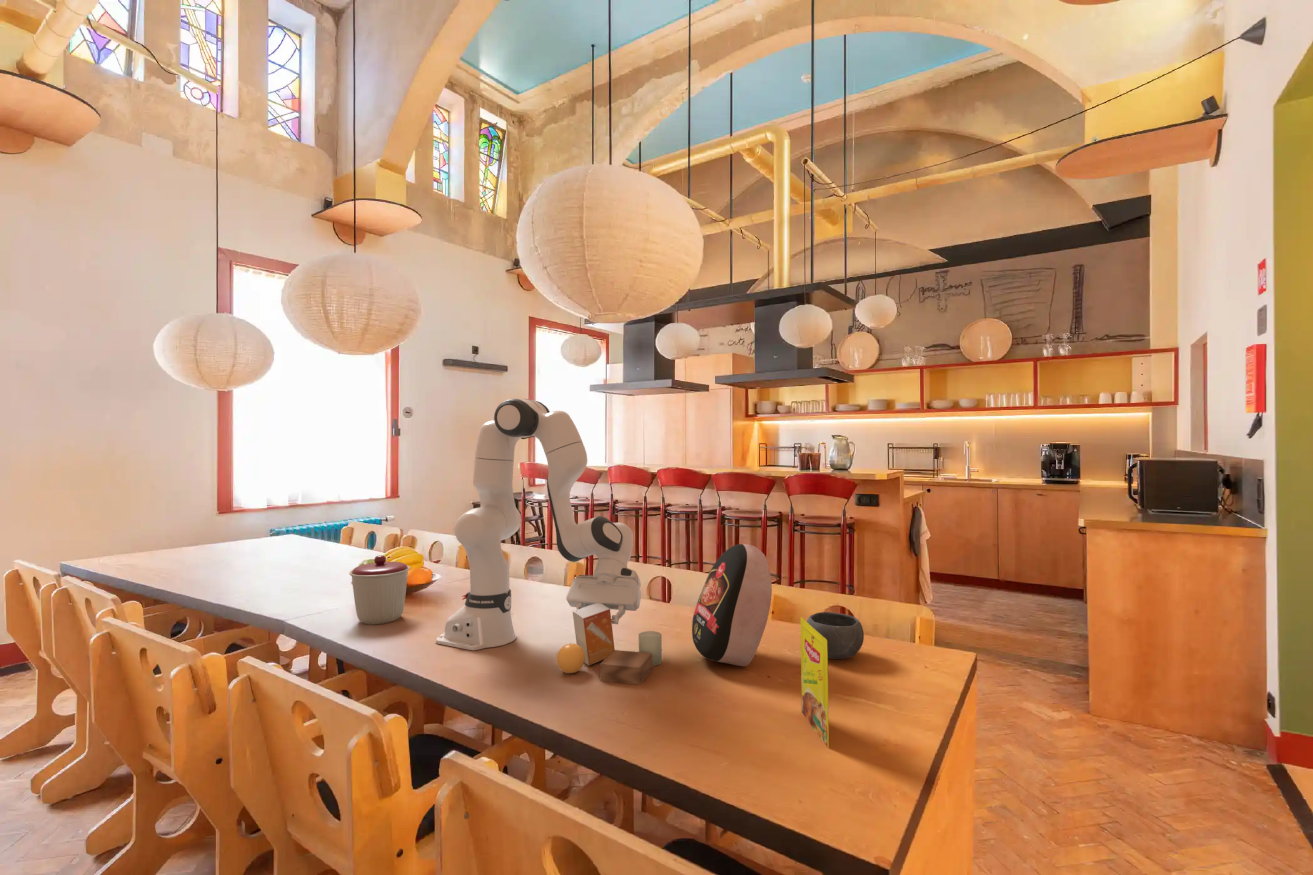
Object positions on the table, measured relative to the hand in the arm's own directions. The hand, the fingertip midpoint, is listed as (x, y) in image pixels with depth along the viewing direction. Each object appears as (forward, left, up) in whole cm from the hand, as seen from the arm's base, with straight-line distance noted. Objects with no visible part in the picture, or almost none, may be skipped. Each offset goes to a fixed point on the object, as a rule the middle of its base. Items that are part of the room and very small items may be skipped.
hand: (596, 621), depth 159 cm
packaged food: (+34, +10, -10) cm, 37 cm away
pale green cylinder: (+14, +3, -10) cm, 17 cm away
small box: (0, 0, -9) cm, 9 cm away
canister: (-82, +17, -10) cm, 84 cm away
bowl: (+60, +19, -10) cm, 63 cm away
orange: (-3, -9, -7) cm, 12 cm away
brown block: (+11, -7, -10) cm, 17 cm away
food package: (+56, -24, -10) cm, 62 cm away
